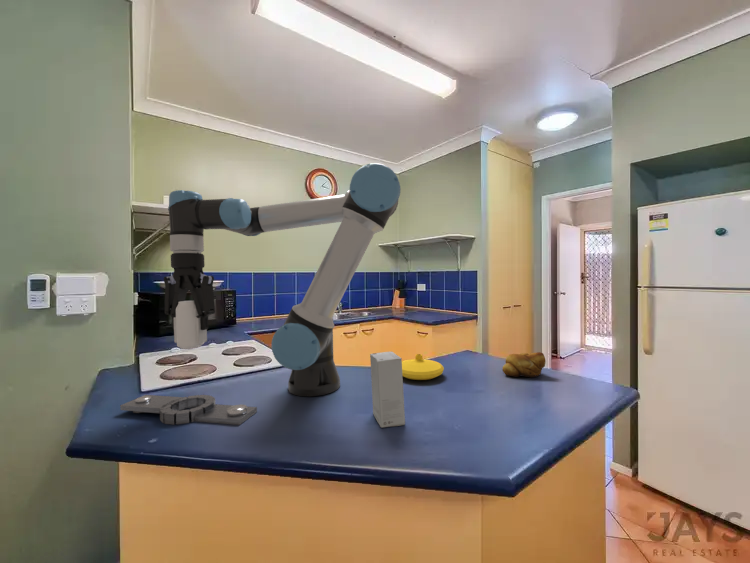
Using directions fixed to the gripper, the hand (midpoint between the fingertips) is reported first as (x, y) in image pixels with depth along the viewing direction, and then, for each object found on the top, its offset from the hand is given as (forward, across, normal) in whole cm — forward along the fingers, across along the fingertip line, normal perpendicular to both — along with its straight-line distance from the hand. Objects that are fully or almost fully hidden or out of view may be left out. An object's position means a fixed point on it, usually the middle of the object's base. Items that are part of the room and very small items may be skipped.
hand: (190, 341), depth 84 cm
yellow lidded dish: (+17, -55, -36) cm, 67 cm away
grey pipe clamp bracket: (+17, -2, +4) cm, 18 cm away
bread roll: (+17, -87, -43) cm, 98 cm away
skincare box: (+17, -51, -3) cm, 54 cm away
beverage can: (+2, 0, 0) cm, 2 cm away
